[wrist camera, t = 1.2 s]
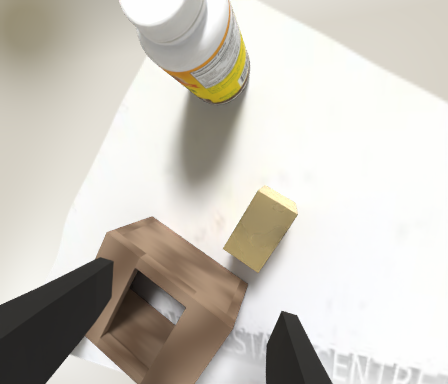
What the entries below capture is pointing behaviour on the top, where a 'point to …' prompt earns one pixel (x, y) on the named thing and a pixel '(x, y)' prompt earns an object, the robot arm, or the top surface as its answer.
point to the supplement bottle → (194, 44)
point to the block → (261, 228)
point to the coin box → (152, 319)
